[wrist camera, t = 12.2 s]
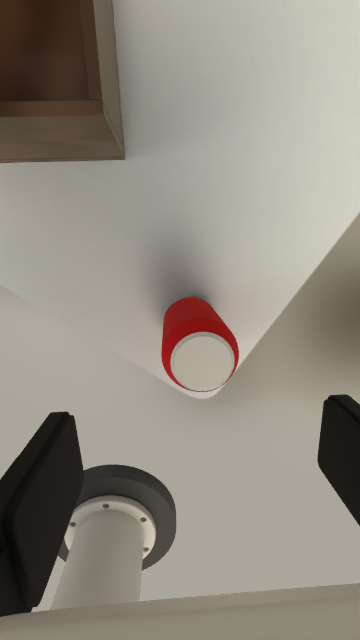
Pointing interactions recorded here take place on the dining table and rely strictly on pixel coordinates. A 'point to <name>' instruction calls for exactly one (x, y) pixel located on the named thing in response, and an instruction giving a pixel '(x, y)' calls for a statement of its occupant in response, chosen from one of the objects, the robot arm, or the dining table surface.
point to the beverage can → (197, 346)
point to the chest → (59, 82)
